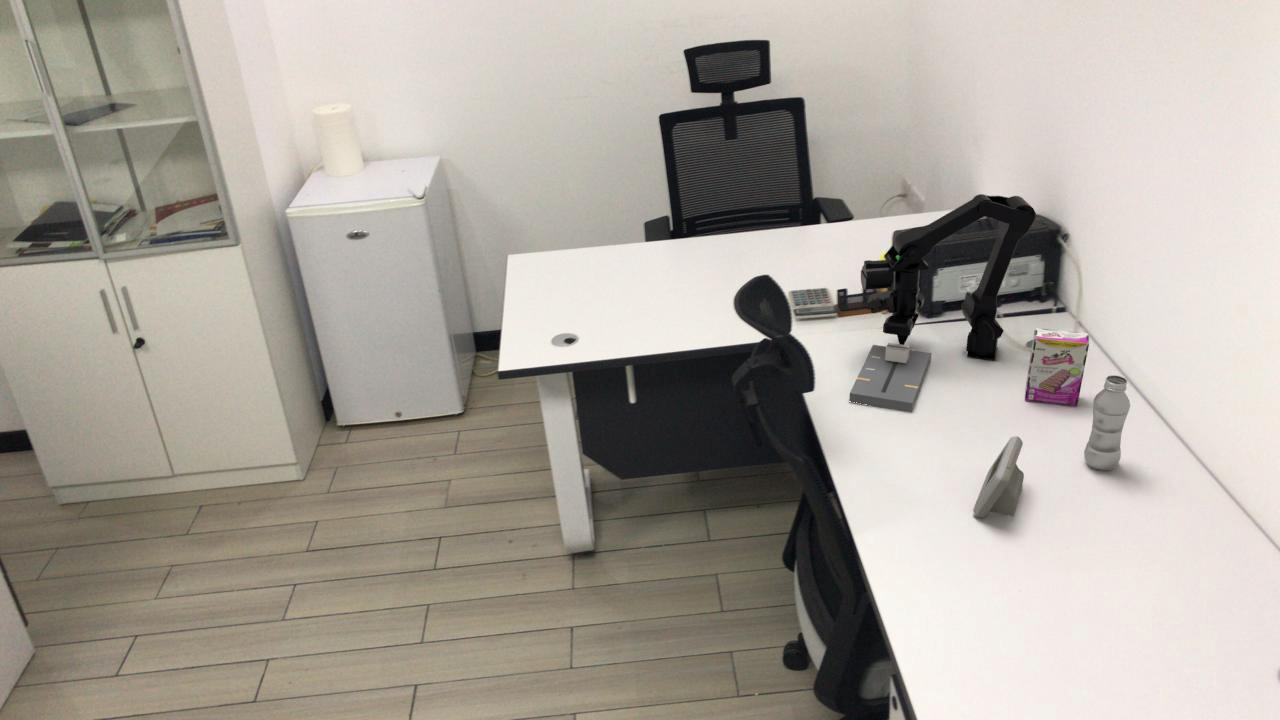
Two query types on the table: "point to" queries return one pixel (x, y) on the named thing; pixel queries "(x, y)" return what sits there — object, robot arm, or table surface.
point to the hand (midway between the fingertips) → (901, 344)
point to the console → (890, 380)
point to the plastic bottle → (1107, 424)
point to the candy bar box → (1056, 367)
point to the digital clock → (1002, 482)
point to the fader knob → (897, 353)
